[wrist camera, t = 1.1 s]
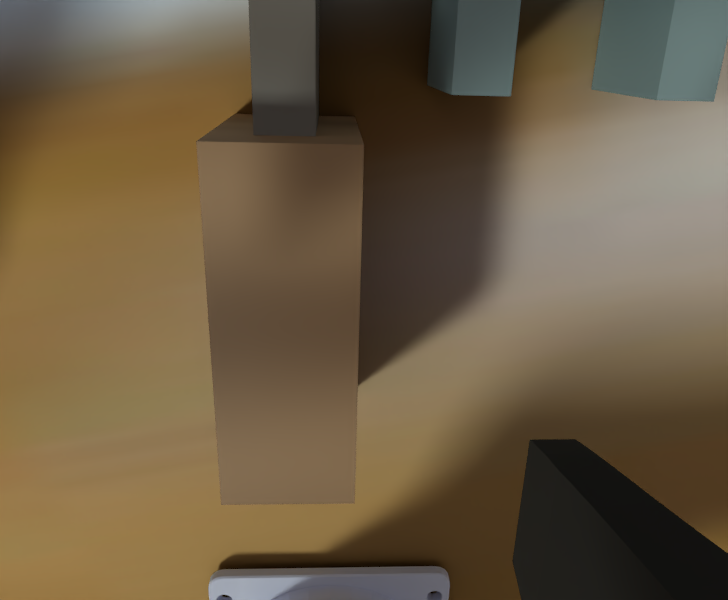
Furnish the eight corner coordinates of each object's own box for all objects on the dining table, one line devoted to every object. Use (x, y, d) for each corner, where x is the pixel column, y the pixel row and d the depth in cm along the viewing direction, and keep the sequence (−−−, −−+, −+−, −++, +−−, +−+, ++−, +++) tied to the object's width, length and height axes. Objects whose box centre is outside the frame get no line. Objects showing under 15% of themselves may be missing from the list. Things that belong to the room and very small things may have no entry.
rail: (348, 392, 19) (354, 503, 15) (248, 392, 19) (221, 504, 14) (357, -39, 15) (369, -77, 10) (228, -44, 15) (180, -84, 10)
